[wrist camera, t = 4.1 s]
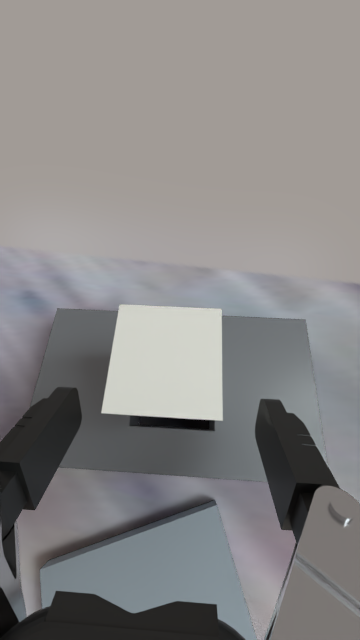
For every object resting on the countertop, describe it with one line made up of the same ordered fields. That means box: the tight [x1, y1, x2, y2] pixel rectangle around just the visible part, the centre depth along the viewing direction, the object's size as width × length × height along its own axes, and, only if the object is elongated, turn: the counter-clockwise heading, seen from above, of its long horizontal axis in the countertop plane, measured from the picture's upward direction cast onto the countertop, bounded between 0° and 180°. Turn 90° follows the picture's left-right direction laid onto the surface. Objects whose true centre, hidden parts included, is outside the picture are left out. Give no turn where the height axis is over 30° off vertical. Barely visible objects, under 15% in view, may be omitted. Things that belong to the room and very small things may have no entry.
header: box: [30, 308, 328, 482], centre depth 17 cm, size 18×10×4 cm, turn 87°
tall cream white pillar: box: [101, 304, 223, 421], centre depth 14 cm, size 4×4×11 cm
